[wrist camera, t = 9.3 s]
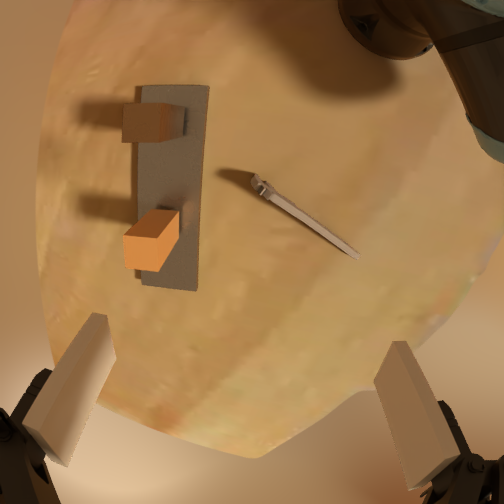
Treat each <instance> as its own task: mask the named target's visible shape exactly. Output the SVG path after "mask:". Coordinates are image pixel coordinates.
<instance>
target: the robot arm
mask: <svg viewBox="0 0 504 504" xmlns="http://www.w3.org/2000/svg"><path fill="white" fill-rule="evenodd" d="M338 5H339V11H340V15H341V18H342V20H343V22H344V24H345V26H346V27H347V29H348V30H349V32H350V33H351V34H352V35H353V37H354V38H355V39H356V40H357V41H358V42H360V43H361V44H362V45H363V46H364V47H366V48H367V49H369V50H370V51H372V52H374V53H376V54H378V55H380V56H382V57H385V58H389V59H394V60H408V59H412V58H415V57H418V56H421V55H423V54H425V53H426V52H428V51H429V50H430V49H431V48H432V47H433V45H435V47H436V49H437V51H438V53H439V55H440V57H441V59H442V61H443V62H444V64H445V66H446V68H447V70H448V72H449V74H450V77H451V79H452V81H453V83H454V85H455V87H456V90H457V92H458V94H459V96H460V99H461V101H462V103H463V106H464V108H465V111H466V117H467V120H468V122H469V123H470V125H471V126H472V128H473V130H474V133H475V135H476V138H477V141H478V143H479V145H480V146H481V148H482V149H483V150H484V151H485V152H486V153H487V154H488V155H489V156H490V157H492V158H493V159H495V160H497V161H499V162H501V163H503V164H504V0H338ZM115 360H116V355H115V351H114V347H113V342H112V338H111V333H110V328H109V324H108V318H107V315H103V314H98V313H92V314H91V315H90V317H89V318H88V320H87V321H86V322H85V324H84V325H83V327H82V328H81V330H80V331H79V332H78V334H77V335H76V337H75V338H74V340H73V341H72V343H71V344H70V346H69V347H68V349H67V350H66V352H65V353H64V355H63V356H62V358H61V359H60V361H59V362H58V364H57V365H56V367H55V368H54V370H53V371H52V370H49V369H46V368H45V369H44V370H42V371H41V372H39V373H38V374H37V375H36V376H35V377H34V379H33V380H32V382H31V384H30V386H29V387H28V388H27V390H26V393H24V394H23V396H22V398H21V399H20V401H19V403H18V405H17V406H16V407H15V409H14V411H13V412H12V414H11V416H10V417H9V415H8V414H7V413H6V412H5V410H4V409H3V408H0V504H61V503H60V500H59V498H58V495H57V493H56V490H55V488H54V485H53V483H52V480H51V477H50V475H49V472H48V469H47V466H46V463H45V461H44V458H45V455H47V456H48V457H49V458H50V459H51V460H52V461H53V462H56V463H58V464H61V465H63V466H65V467H68V465H69V462H70V460H71V457H72V455H73V452H74V450H75V448H76V445H77V442H78V441H79V438H80V436H81V433H82V431H83V429H84V426H85V424H86V422H87V420H88V417H89V415H90V413H91V411H92V409H93V406H94V404H95V402H96V400H97V398H98V396H99V393H100V391H101V389H102V387H103V385H104V383H105V381H106V379H107V377H108V375H109V373H110V370H111V368H112V366H113V364H114V362H115ZM374 384H375V386H376V389H377V392H378V395H379V398H380V400H381V403H382V406H383V409H384V412H385V415H386V418H387V421H388V424H389V427H390V430H391V434H392V437H393V440H394V443H395V446H396V450H397V452H398V456H399V460H400V463H401V466H402V470H403V473H404V476H405V480H406V484H407V488H408V490H412V489H416V488H420V487H423V486H425V485H426V484H427V483H428V482H430V481H431V482H432V486H431V487H429V488H428V489H427V490H426V491H424V492H423V493H422V494H421V495H420V497H423V496H424V495H426V494H427V495H426V497H425V499H424V501H423V503H422V504H504V455H503V456H502V457H500V458H499V459H498V460H484V459H483V458H482V457H481V456H479V455H478V454H474V453H473V454H472V453H471V451H470V449H469V447H468V444H467V443H466V440H465V438H464V435H463V433H462V431H461V429H460V427H459V426H458V423H457V420H456V419H455V416H454V414H453V412H452V410H451V408H450V407H449V406H448V405H447V404H446V403H445V402H444V401H443V400H442V401H437V400H436V398H435V396H434V394H433V392H432V390H431V388H430V386H429V384H428V382H427V380H426V378H425V376H424V374H423V372H422V370H421V368H420V366H419V364H418V363H417V361H416V359H415V357H414V355H413V353H412V351H411V349H410V347H409V346H408V344H407V342H406V341H393V342H392V344H391V346H390V348H389V350H388V353H387V355H386V357H385V359H384V361H383V363H382V365H381V367H380V369H379V371H378V373H377V375H376V377H375V379H374ZM491 494H492V496H491V500H490V495H491Z"/></svg>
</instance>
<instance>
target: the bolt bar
mask: <svg viewBox="0 0 504 504" xmlns="http://www.w3.org/2000/svg"><path fill="white" fill-rule="evenodd" d="M209 89H210V87H209V86H200V85H159V86H142V94H141V103H130V104H124V107H123V123H122V143H138V221H139V220H140V219H141V218H142V217H143V216H144V215H145V214H146V213H147V212H149V211H150V210H151V209H160V210H173V211H179V239H178V240H177V242H176V244H175V245H174V247H173V248H172V250H171V252H170V253H169V255H168V257H167V258H166V260H165V262H164V263H163V265H162V267H161V268H160V270H159V272H154V271H146V270H141V281H142V285H147V286H155V287H163V288H171V289H180V290H188V291H197V288H198V261H199V231H200V208H201V189H202V173H203V158H204V144H205V132H206V120H207V109H208V99H209Z"/></svg>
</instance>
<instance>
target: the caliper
mask: <svg viewBox="0 0 504 504" xmlns="http://www.w3.org/2000/svg"><path fill="white" fill-rule="evenodd" d="M251 185H252V186H253V188H254V189H255V190H256V191H258V193H259V195H263V196H264V197H265V198H266V199H267V200H269V199H270V200H271V201H272V202H274V203H275V204H277V205H278V206H280V207H281V208H283V209H284V210H286V211H287V212H289V213H290V214H292V215H293V216H294V217H297V218H298V219H300V220H301V221H303V222H304V223H305V224H307V225H308V226H310V227H311V228H313V229H314V230H315V231H317V232H318V233H320V234H321V235H322V236H324V237H325V238H327V239H328V240H329V241H331V242H332V243H333V244H335V245H336V246H338V247H339V248H340V249H342V250H343V251H344V252H346V253H347V254H348V255H350V256H351V257H353V258H355V259H356V260H357V259H358V258H359V257H360V256H361V255H360V254H359V253H358V252H357V251H355V250H354V249H353V248H352V247H351V246H350V245H348V244H347V243H346V242H344V241H343V240H342V239H340V238H339V237H338V236H336V235H335V234H334V233H332V232H331V231H330V230H328V229H327V228H326V227H324V226H323V225H322V224H320V223H319V222H318V221H316V220H315V219H314V218H312V217H311V216H309V215H308V214H307V213H305V212H304V211H302V210H301V209H300V208H298V207H297V206H296V205H295V204H294V203H293V202H291V201H290V200H288V199H287V198H286V197H284V196H282V195H281V194H279V193H278V192H277V191H276V190H275V189H274V188H273V187H272V186H271V185H270V184H269V183H268V182H267V181H265V182H264V183H263V182H262V180H261V179H260V178H259V176H258V175H257V174H255V175H254V176H253V177H252V179H251Z"/></svg>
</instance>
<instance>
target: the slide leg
mask: <svg viewBox="0 0 504 504" xmlns="http://www.w3.org/2000/svg"><path fill="white" fill-rule="evenodd" d="M178 239H179V211H173V210H160V209H151V210H150V211H149V212H147V213H146V214H145V215H144V216H143V217H142V218H141V219H140V220H139V221H138V222H137V223H136V224H134V225H133V226H132V227H131V228H130V229H129V230H128V231H127V232H126V233H125V234H124V235H123V240H124V254H125V265H126V268H130V269H138V270H146V271H154V272H159V270H160V268H161V267H162V265H163V263H164V262H165V260H166V258H167V257H168V255H169V253H170V252H171V250H172V248H173V247H174V245H175V244H176V242H177V240H178Z"/></svg>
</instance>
